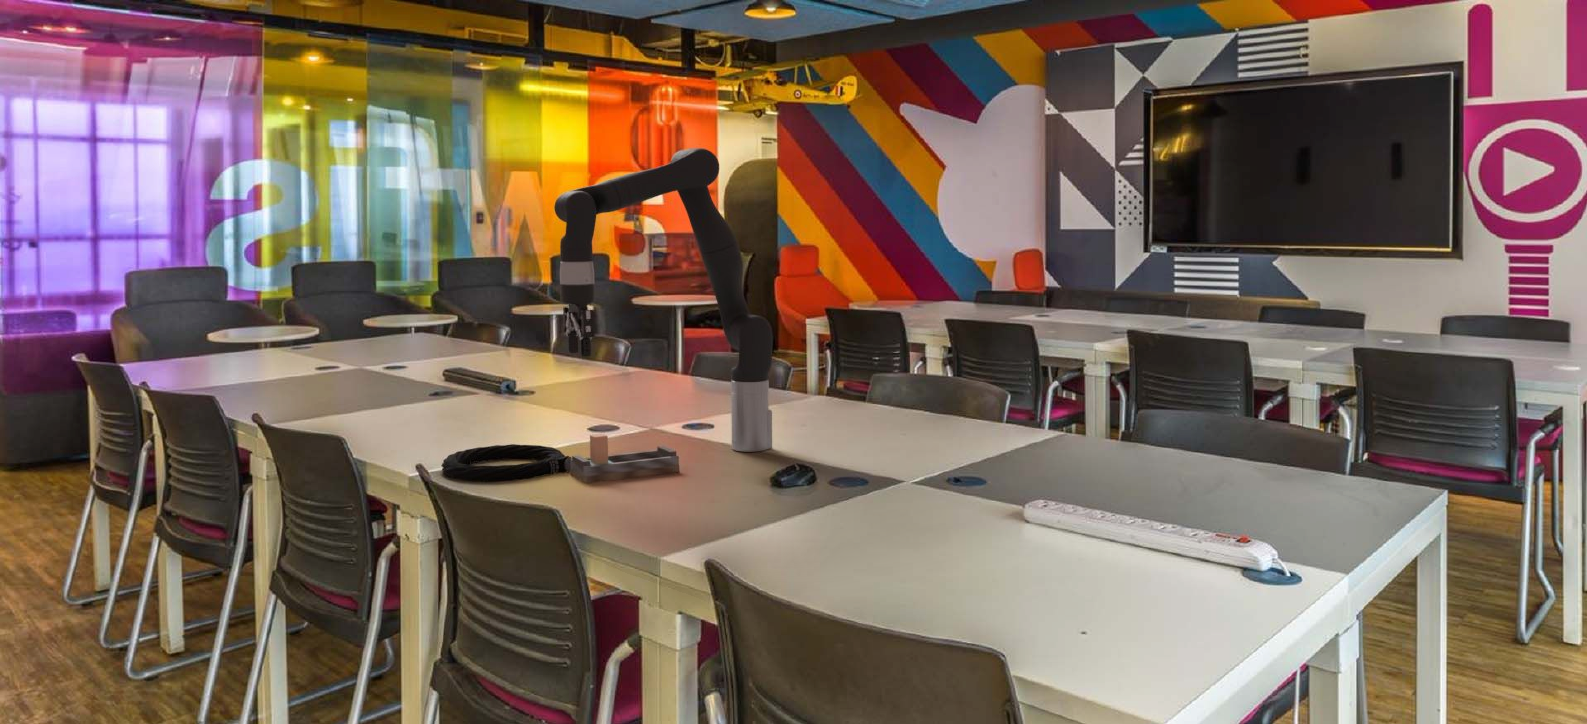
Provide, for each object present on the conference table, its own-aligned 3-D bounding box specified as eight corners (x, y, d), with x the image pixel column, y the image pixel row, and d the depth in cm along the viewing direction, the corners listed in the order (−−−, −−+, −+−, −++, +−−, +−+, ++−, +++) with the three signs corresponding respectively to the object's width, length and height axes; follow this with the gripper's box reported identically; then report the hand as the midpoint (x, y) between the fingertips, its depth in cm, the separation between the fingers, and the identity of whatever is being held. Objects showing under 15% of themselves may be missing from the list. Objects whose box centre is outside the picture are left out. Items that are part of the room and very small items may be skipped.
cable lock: (476, 440, 278) (593, 444, 272) (477, 456, 279) (593, 460, 273) (417, 464, 251) (545, 469, 245) (418, 481, 252) (546, 487, 246)
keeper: (605, 465, 258) (604, 432, 257) (615, 470, 252) (614, 436, 251) (583, 467, 255) (582, 434, 254) (593, 473, 250) (592, 438, 249)
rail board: (661, 463, 267) (661, 444, 266) (679, 471, 258) (679, 452, 258) (570, 474, 256) (569, 454, 255) (585, 483, 247) (585, 462, 247)
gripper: (604, 283, 250) (606, 356, 252) (583, 280, 262) (585, 350, 264) (571, 284, 246) (573, 359, 249) (551, 281, 259) (553, 352, 261)
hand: (579, 354), depth 256 cm, fingers open, 8 cm apart
